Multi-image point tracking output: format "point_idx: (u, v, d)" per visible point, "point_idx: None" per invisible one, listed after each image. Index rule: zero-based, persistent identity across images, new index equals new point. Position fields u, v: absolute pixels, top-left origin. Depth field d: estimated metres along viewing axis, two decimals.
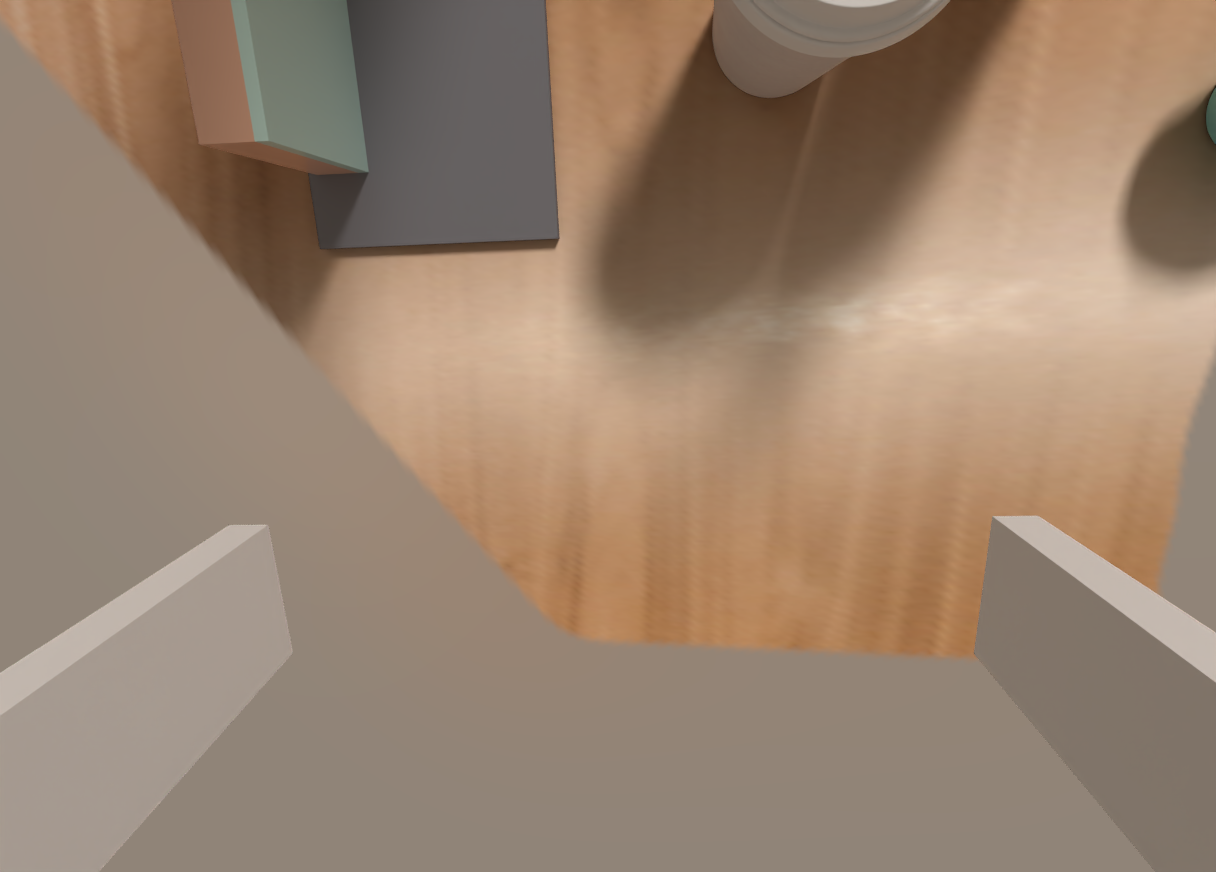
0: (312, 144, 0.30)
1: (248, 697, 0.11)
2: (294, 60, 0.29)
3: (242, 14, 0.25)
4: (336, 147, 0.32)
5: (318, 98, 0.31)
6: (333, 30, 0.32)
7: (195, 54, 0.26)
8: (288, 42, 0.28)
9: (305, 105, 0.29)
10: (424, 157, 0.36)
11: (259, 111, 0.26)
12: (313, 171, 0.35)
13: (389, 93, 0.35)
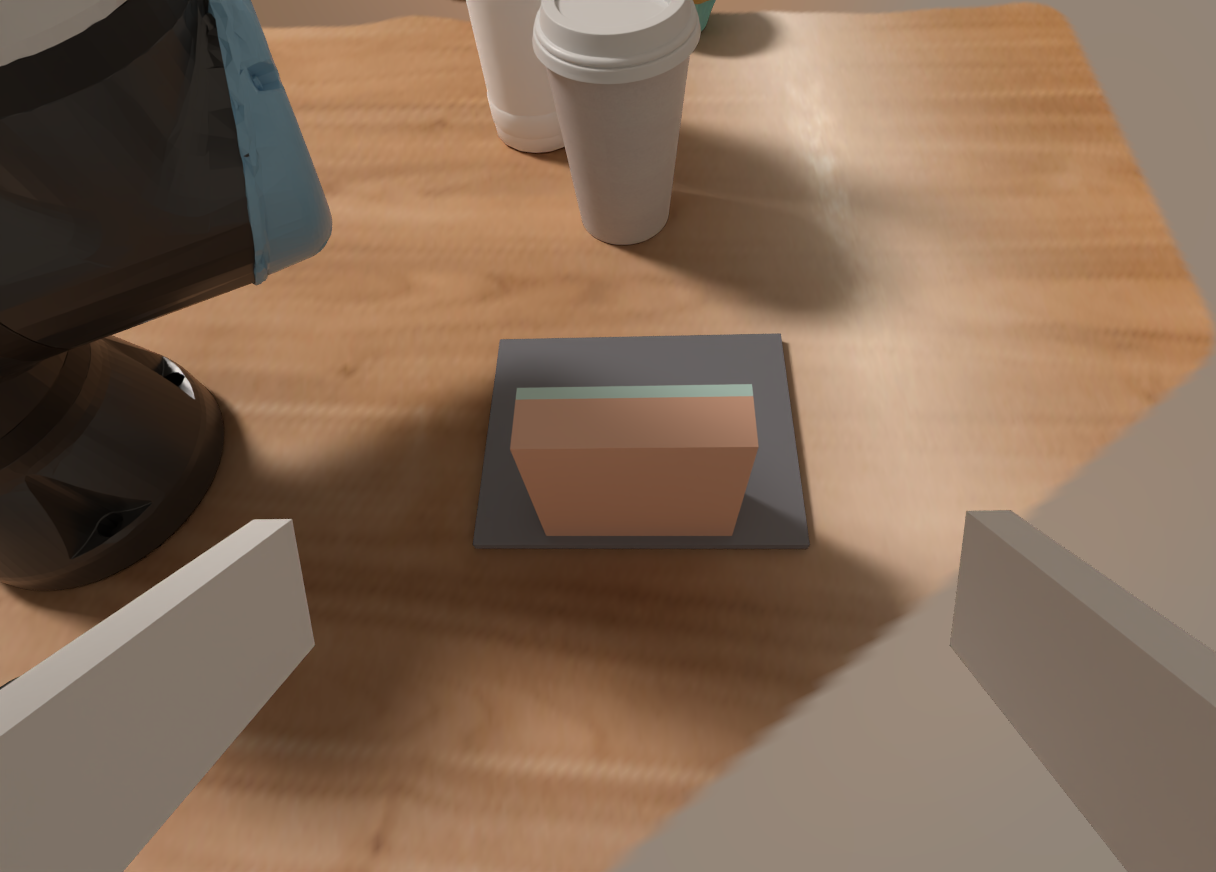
0: None
1: (273, 688, 0.11)
2: None
3: (642, 390, 0.27)
4: None
5: None
6: None
7: (674, 435, 0.26)
8: None
9: None
10: None
11: (725, 388, 0.27)
12: None
13: None
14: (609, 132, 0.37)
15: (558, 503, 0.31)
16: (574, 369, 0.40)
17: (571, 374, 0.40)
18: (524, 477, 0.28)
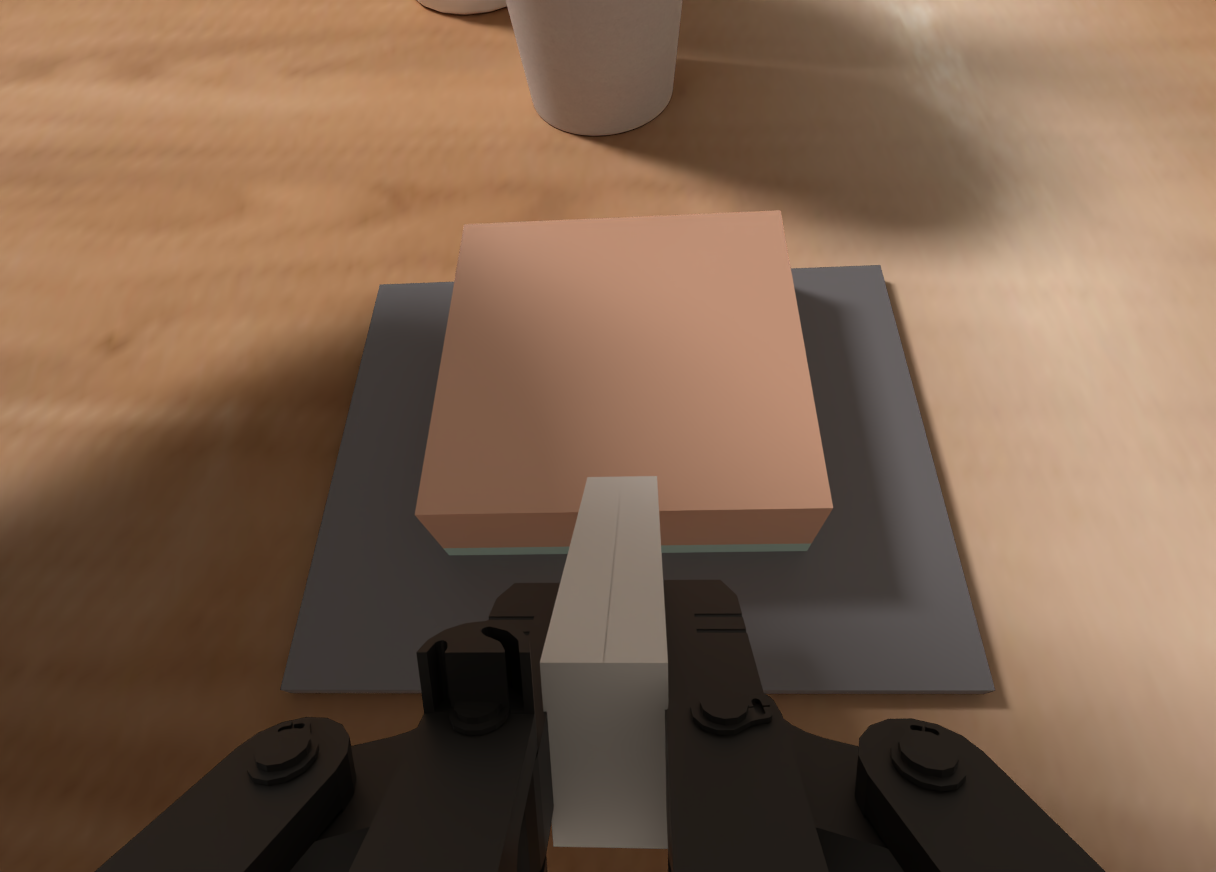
0: None
1: None
2: None
3: None
4: None
5: None
6: None
7: None
8: None
9: None
10: None
11: None
12: None
13: None
14: None
15: (483, 364, 0.18)
16: None
17: None
18: (457, 287, 0.19)
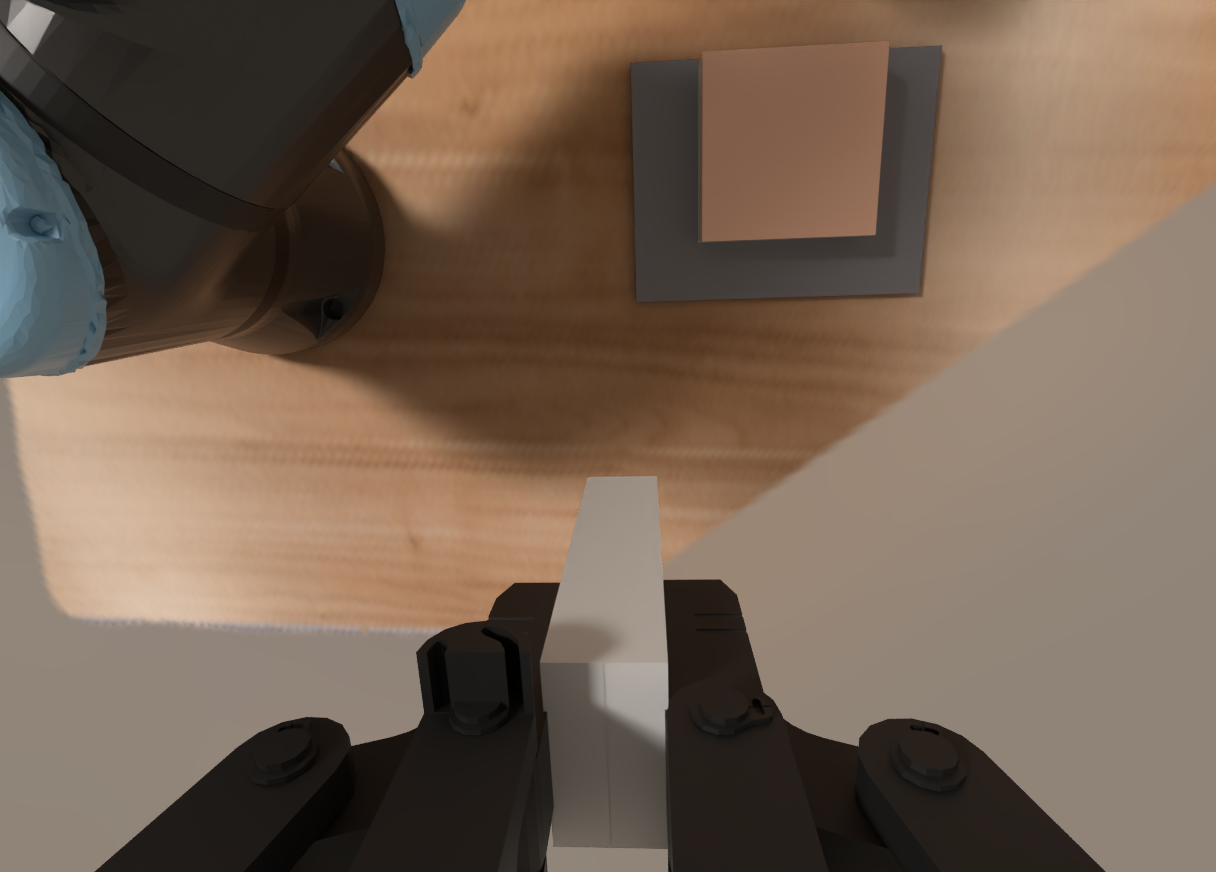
0: None
1: None
2: None
3: None
4: None
5: None
6: None
7: None
8: None
9: None
10: None
11: None
12: None
13: None
14: None
15: (724, 159, 0.36)
16: None
17: None
18: (704, 104, 0.36)
